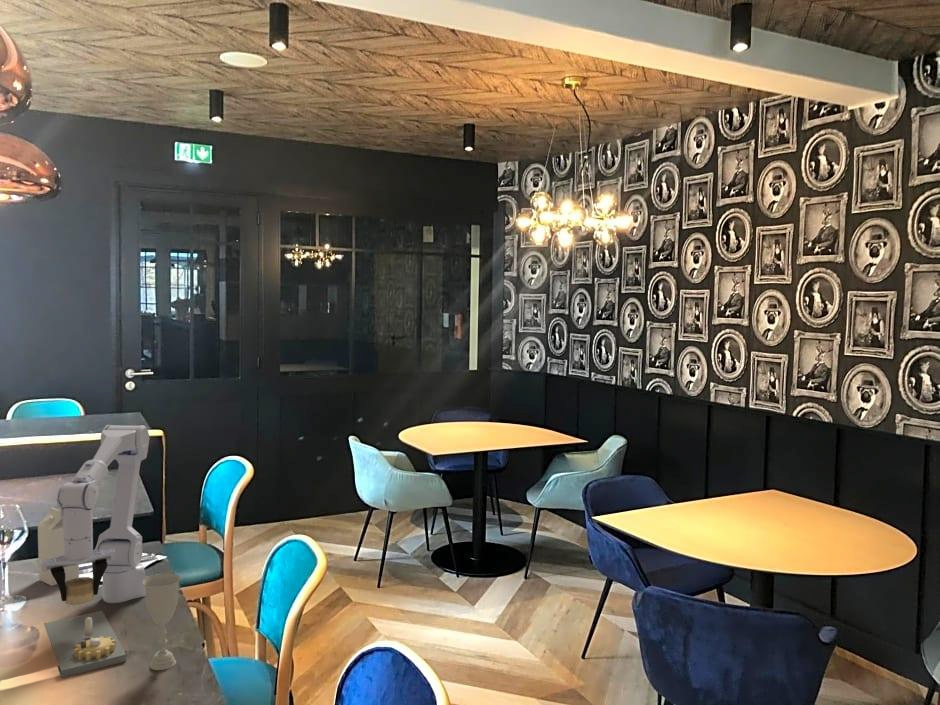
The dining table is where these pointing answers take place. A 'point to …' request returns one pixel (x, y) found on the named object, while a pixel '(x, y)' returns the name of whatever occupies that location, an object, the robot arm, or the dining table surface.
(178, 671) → the dining table surface
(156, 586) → the chalice
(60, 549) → the milk carton
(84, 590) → the wooden ring spacer
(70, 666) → the gear board
